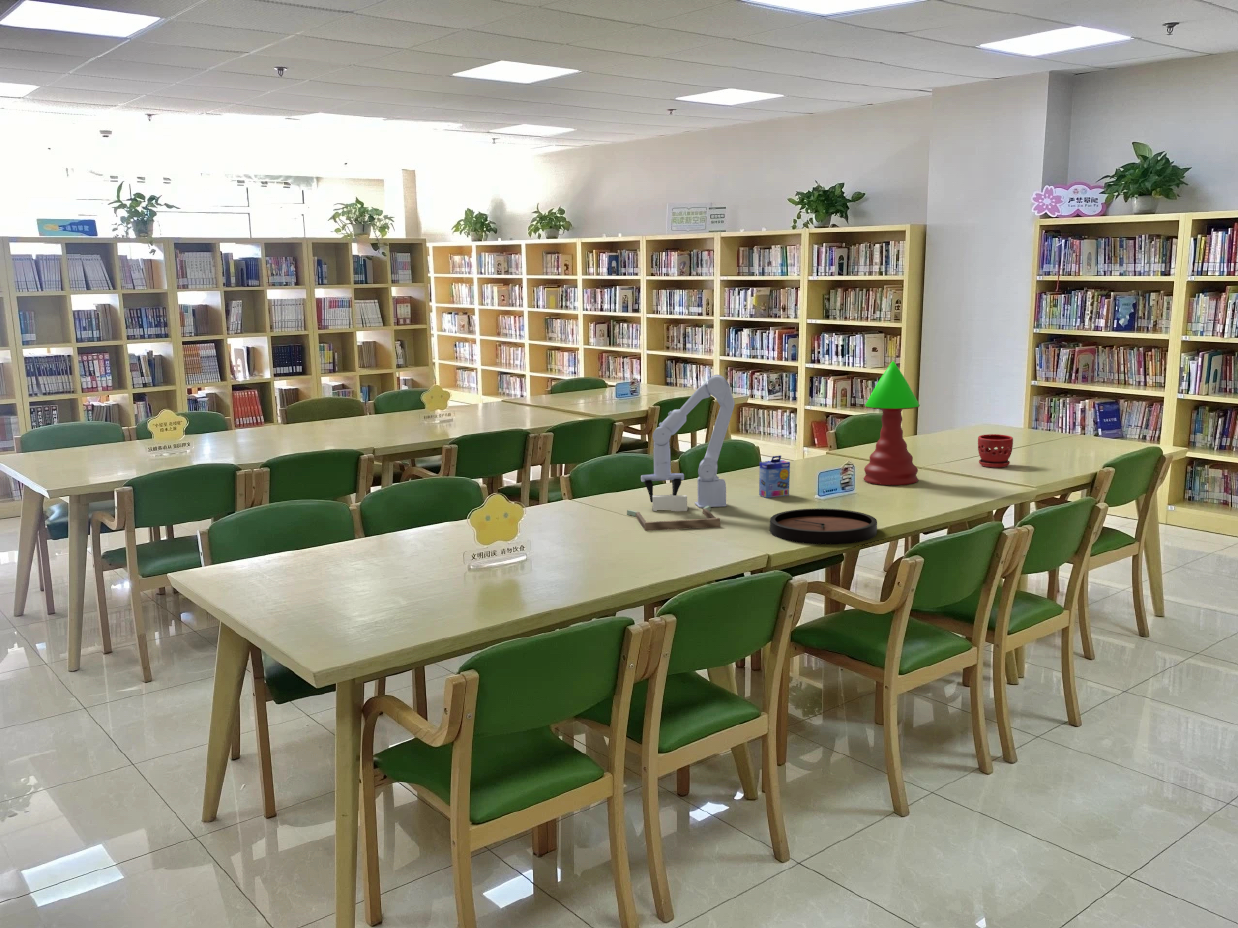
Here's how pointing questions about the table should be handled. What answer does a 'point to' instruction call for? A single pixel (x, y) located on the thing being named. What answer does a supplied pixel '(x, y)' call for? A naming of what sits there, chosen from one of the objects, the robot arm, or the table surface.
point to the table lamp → (891, 431)
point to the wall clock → (823, 526)
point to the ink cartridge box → (774, 478)
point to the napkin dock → (678, 522)
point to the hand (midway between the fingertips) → (662, 501)
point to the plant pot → (995, 450)
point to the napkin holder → (670, 502)
